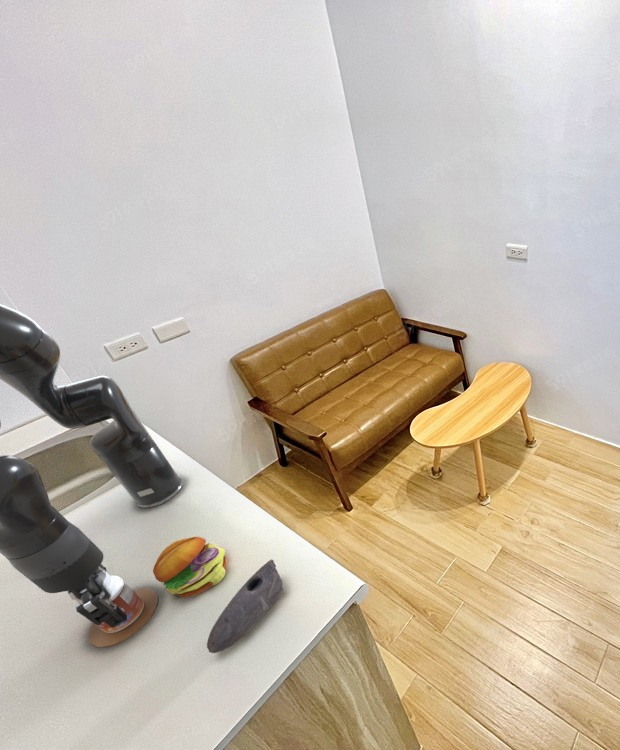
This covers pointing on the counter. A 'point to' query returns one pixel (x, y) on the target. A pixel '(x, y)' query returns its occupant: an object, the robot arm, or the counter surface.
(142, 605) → the pill bottle
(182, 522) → the counter surface
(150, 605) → the coaster
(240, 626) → the perforated stone tool
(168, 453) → the counter surface
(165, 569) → the cheeseburger
